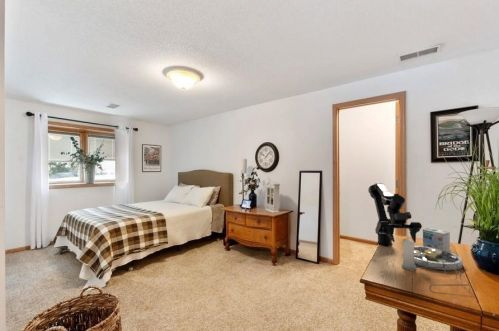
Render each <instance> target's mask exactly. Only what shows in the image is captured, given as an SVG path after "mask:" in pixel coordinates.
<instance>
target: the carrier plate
mask: <svg viewBox="0 0 499 331" xmlns="http://www.w3.org/2000/svg"><path fill="white" fill-rule="evenodd" d="M414 265H415V266H416V267H420V266H421V267H444V266H445V271H444V268H427V269H429V270H434V271H442V272H458V271H460V270H462V269H463V267H464V266H463V259H462V257H460V256H459V255H458V254H456V253H453V252H451V251H446V250H441V249H437V248H433V247H424V246H423V245H414ZM448 265H449V266H448ZM450 266H451V267H452V268H451V267H450ZM453 268H454V269H456V270H454V269H453Z"/></svg>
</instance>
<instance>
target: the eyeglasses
mask: <svg viewBox="0 0 499 331" xmlns="http://www.w3.org/2000/svg"><path fill="white" fill-rule="evenodd" d="M448 266H449V265H448ZM450 267H451V266H450ZM412 268H416V269H428V268H444V271H443V272H444V273H445V274H447V271H445V266H444V267H420V266H416V267H412ZM412 268H411V270H410V272H413V270H412ZM451 268H452V267H451ZM453 269H454V268H453ZM454 270H456V269H454ZM455 273H456V274H455V276H456V277H455V280H457V278H458V275H459V279H460V282H461V285H462V286H464V287H465V284H464V283H463V281H462V276H463V277H465V279H466V280H467V286H468V292H470V287H471V286H470V283H469V280H468V278H467V277H466V275H464V274H463V273H462V272H460V270H457V271H455ZM432 286H435V287H436V286H437V287H438V286H439V287H440V286H442V287H443V286H444V287H445V286H451V287H452V286H458V284H430V285H429V286H428V288H429V290H431V289H432V288H431V287H432Z"/></svg>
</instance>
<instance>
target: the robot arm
mask: <svg viewBox="0 0 499 331" xmlns="http://www.w3.org/2000/svg"><path fill="white" fill-rule="evenodd" d="M367 192H368V193H369V195H370V197H371V198H372V199H373V200H374V205H375V208H376V213H377V218H378V221H377V223H376V227H375V234H377V242H376V244H377V245H380V246H384V247H390V246H392V245H393V243H395V242H396V240H395V237H394V232H395V229H402V230H403V229H408V230H409V234H410V237H411V240H413V241H414V244H415V243H416V240H417V233H419V232H420V231H421V229H422V228H423V225H422V224H421V222H420V221H411V222H410V224H406V223H407V220H411V219H412V214H411V212H410V211H405V212H401V209H402V208H403V205H405V202H406V198H404V197H403V196H402V195H399V193H393V192H390V190H389V189H388V188H387V187H386V185H385V183H383V182H376V183H374V184H372V185H370V186H369V187H368V191H367ZM385 206H387V207H386V209H385ZM386 212H387V213H388V216H389V217H388V216H387V213H386Z"/></svg>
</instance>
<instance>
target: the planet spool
mask: <svg viewBox="0 0 499 331" xmlns="http://www.w3.org/2000/svg"><path fill="white" fill-rule="evenodd" d="M414 246H415V243H414V241H413V240H412V239H409V238H403V239H402V263H401V268H402V269H404V270H407V271H411V268H412V267H417V265H414ZM416 270H417V268H412V271H416Z"/></svg>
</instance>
